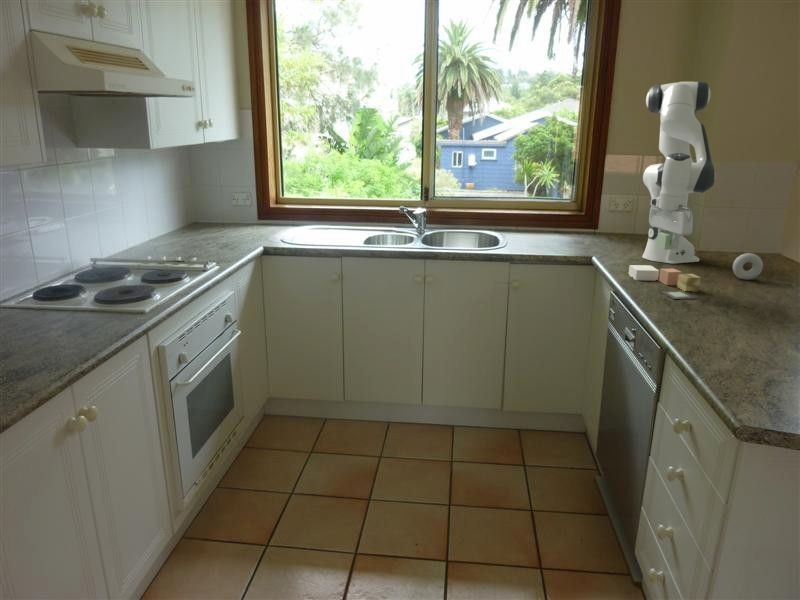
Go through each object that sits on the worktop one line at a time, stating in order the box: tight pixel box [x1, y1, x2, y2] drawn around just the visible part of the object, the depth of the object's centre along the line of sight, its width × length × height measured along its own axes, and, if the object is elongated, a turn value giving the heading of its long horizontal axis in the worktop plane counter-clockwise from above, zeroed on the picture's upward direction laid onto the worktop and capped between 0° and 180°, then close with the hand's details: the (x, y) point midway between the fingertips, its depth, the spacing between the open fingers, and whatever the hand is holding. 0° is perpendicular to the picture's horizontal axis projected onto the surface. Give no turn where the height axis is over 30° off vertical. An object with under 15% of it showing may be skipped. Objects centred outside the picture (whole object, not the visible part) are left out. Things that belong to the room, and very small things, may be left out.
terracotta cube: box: [658, 268, 682, 286], centre depth 216 cm, size 5×5×5 cm
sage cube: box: [656, 232, 679, 250], centre depth 207 cm, size 5×5×5 cm
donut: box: [732, 252, 764, 281], centre depth 222 cm, size 10×4×10 cm, turn 77°
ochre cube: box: [676, 273, 702, 292], centre depth 209 cm, size 5×5×5 cm
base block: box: [628, 264, 660, 281], centre depth 224 cm, size 8×8×4 cm
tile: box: [661, 290, 697, 300], centre depth 202 cm, size 8×8×1 cm
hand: (667, 243), depth 208 cm, fingers closed on sage cube, 5 cm apart
